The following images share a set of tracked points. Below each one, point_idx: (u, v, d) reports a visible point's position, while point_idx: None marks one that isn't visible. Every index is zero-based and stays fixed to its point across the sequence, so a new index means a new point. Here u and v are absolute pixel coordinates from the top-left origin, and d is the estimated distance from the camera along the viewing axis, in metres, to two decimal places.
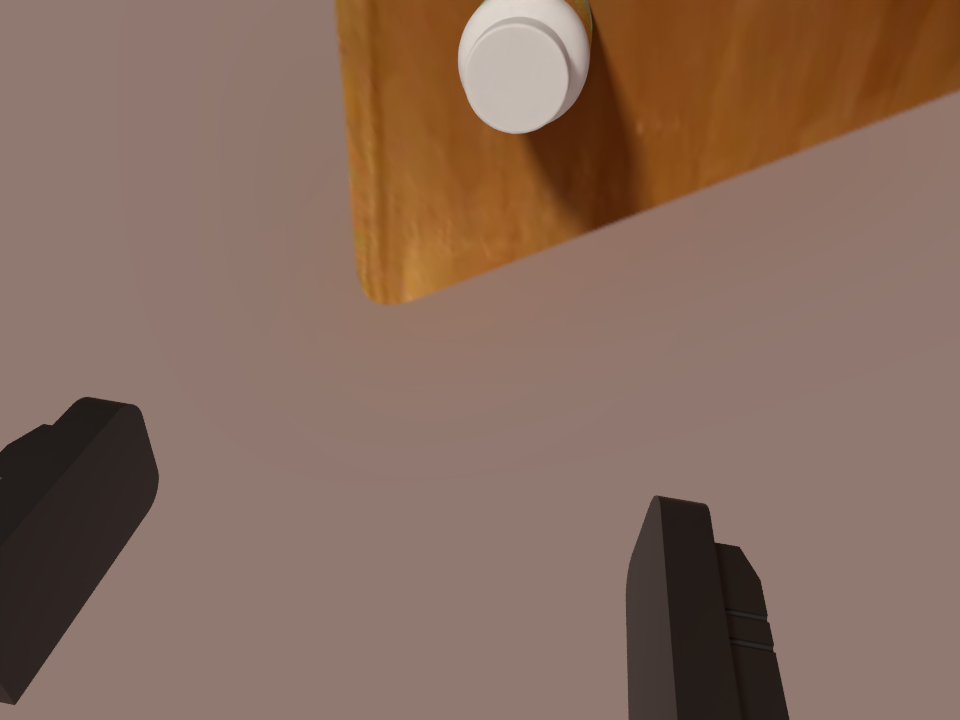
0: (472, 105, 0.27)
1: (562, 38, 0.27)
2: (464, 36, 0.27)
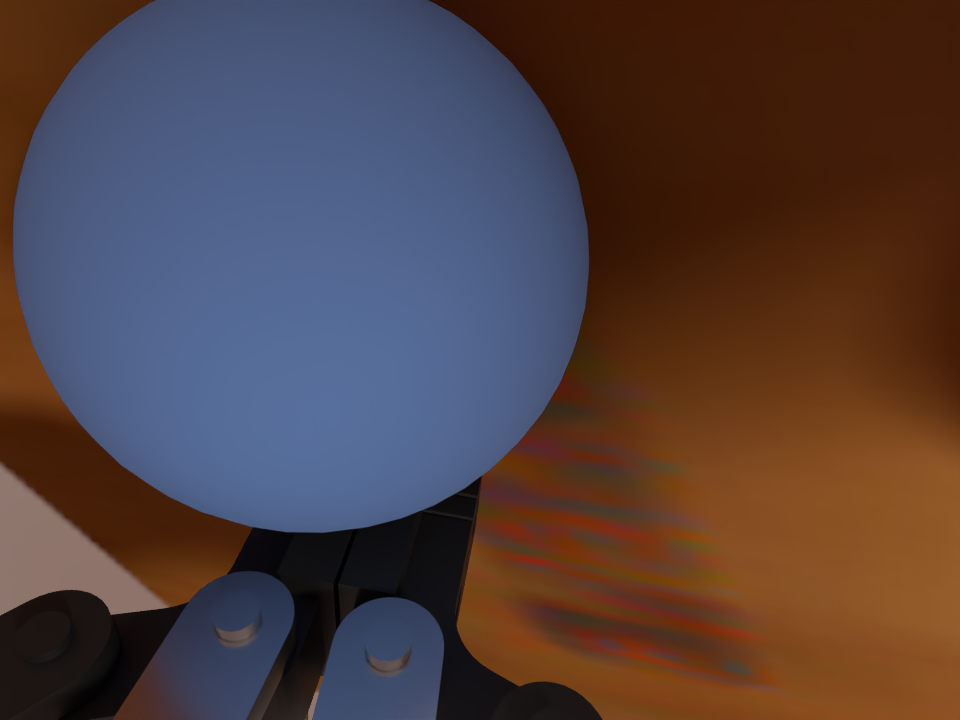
0: None
1: None
2: None
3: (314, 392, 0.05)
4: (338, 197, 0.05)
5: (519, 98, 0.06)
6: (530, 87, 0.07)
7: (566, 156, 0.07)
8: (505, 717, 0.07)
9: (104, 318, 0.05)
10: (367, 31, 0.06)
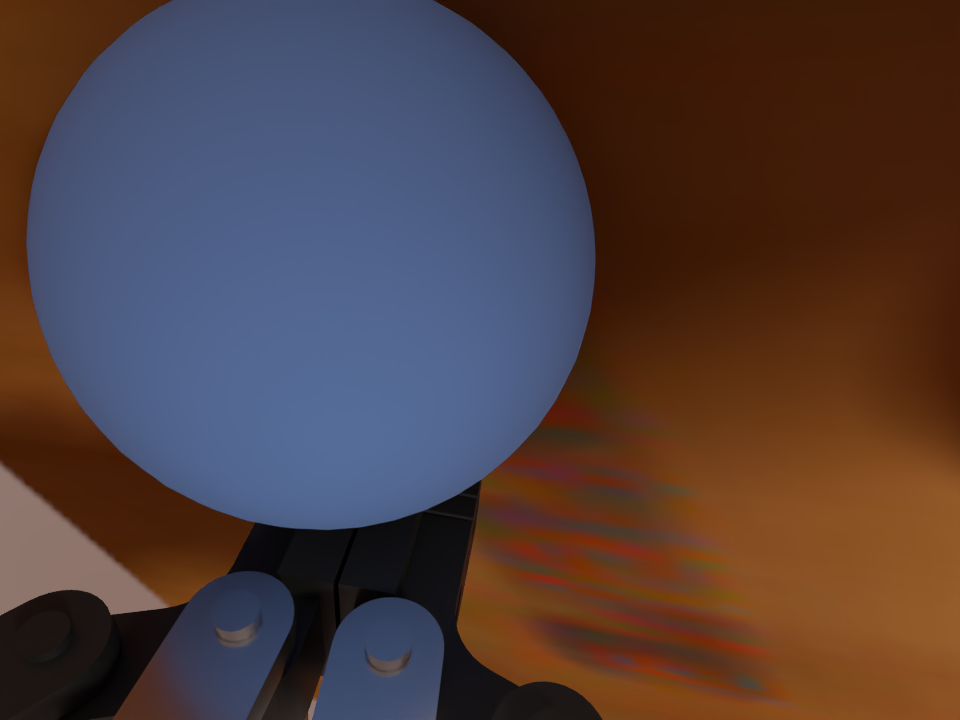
0: None
1: None
2: None
3: (312, 324, 0.05)
4: (351, 133, 0.05)
5: (531, 91, 0.07)
6: (542, 94, 0.07)
7: (575, 156, 0.07)
8: (505, 717, 0.07)
9: (109, 242, 0.05)
10: (393, 7, 0.06)
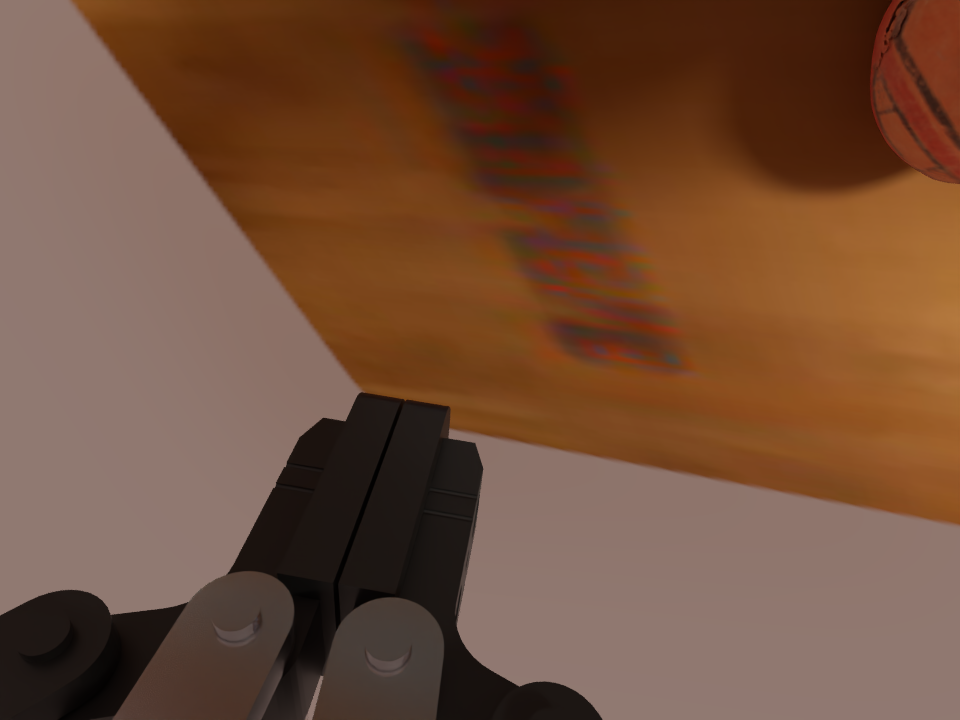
0: None
1: None
2: None
3: None
4: None
5: None
6: None
7: None
8: (505, 717, 0.07)
9: None
10: None
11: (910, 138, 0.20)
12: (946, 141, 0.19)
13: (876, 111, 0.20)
